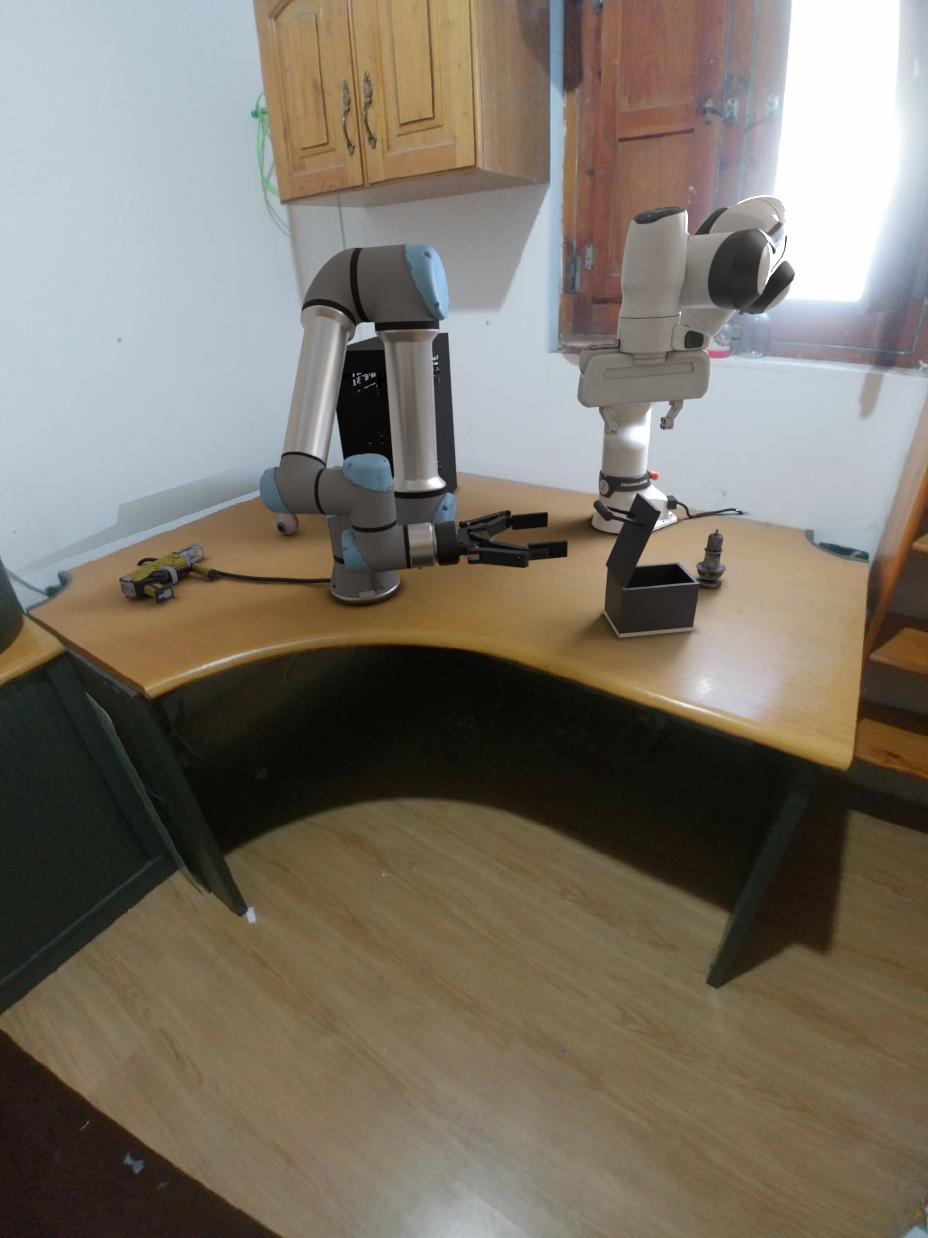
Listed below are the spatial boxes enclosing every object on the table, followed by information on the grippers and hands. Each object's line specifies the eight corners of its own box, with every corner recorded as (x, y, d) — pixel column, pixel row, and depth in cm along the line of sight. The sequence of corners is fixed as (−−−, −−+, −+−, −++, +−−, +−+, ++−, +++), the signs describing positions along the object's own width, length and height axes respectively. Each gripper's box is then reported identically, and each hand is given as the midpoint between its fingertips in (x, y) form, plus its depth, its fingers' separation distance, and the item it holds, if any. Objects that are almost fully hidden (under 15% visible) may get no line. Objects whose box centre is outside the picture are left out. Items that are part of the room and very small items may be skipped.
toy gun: (240, 551, 148) (190, 541, 152) (168, 591, 128) (113, 578, 132) (243, 568, 150) (193, 558, 154) (172, 610, 130) (117, 597, 134)
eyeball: (273, 537, 164) (268, 516, 161) (287, 528, 169) (282, 508, 166) (291, 539, 161) (286, 518, 158) (305, 530, 166) (301, 510, 163)
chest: (672, 606, 120) (679, 561, 115) (692, 630, 112) (700, 583, 107) (603, 612, 119) (607, 568, 115) (618, 637, 111) (623, 590, 106)
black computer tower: (424, 530, 162) (407, 348, 139) (353, 528, 166) (326, 351, 144) (457, 486, 193) (448, 332, 171) (397, 485, 198) (380, 334, 175)
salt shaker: (725, 588, 125) (735, 534, 119) (695, 587, 126) (703, 534, 120) (720, 576, 130) (730, 523, 124) (692, 575, 131) (700, 523, 125)
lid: (641, 493, 108) (598, 481, 106) (661, 511, 100) (615, 498, 98) (609, 566, 114) (568, 555, 112) (626, 588, 106) (581, 577, 104)
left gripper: (431, 537, 116) (540, 527, 117) (442, 597, 94) (575, 584, 96) (428, 499, 112) (540, 490, 113) (439, 553, 90) (577, 540, 92)
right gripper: (586, 344, 87) (582, 441, 94) (721, 334, 89) (707, 430, 96) (573, 340, 92) (570, 432, 99) (700, 331, 94) (688, 422, 101)
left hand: (556, 533), depth 105 cm, fingers open, 13 cm apart
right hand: (638, 431), depth 97 cm, fingers open, 8 cm apart
